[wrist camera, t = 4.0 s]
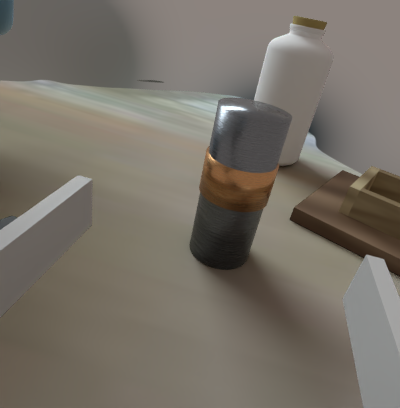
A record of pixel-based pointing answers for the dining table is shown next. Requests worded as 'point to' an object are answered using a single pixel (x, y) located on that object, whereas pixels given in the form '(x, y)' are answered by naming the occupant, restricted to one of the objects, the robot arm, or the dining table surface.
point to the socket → (357, 214)
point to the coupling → (237, 179)
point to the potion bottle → (295, 79)
